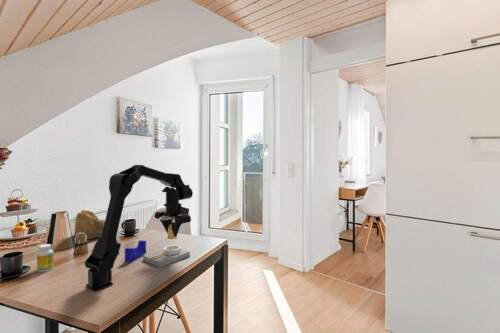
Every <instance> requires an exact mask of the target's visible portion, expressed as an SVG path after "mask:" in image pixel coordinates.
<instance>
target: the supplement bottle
mask: <svg viewBox="0 0 500 333" xmlns="http://www.w3.org/2000/svg"><path fill="white" fill-rule="evenodd" d="M38 250H39V251H37V253H36V264H37V265H36V268H37V271H38V273H39V272H42V273H43V272H48V271H51V270H53V269H54V267H55V266H54V264H55V263H54V260H55V258H54V256H55V255H54V250H53V249H52V244H50V243H47V244H40V245H39V246H38Z"/></svg>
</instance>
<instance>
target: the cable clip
mask: <svg viewBox="0 0 500 333" xmlns="http://www.w3.org/2000/svg"><path fill="white" fill-rule="evenodd" d="M146 254H147V240H141V239H140V240H138V243H137V246H135V247H127V246H126V247H125V248H124V263H133V262H134V261H136V260H137V259H139V258H141V257H143V256H144V255H146Z"/></svg>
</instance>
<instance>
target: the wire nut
mask: <svg viewBox="0 0 500 333" xmlns="http://www.w3.org/2000/svg"><path fill="white" fill-rule="evenodd" d="M177 238H178V235H177V236H176V237H174V234H173V230H172V226H171V225H169V227H168V234H167V239H168V240H176V239H177Z"/></svg>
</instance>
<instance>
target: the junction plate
mask: <svg viewBox="0 0 500 333" xmlns="http://www.w3.org/2000/svg"><path fill="white" fill-rule="evenodd" d="M190 256H191V251H188V250H185V249H183V248H182V246H181V245H178V244H170V245H166V246H164V248H163V249H161V250H158V251H154V252H151V253H148V254H144V255H142V261H143V262H146V263H149V264H151V265H154V266H157V267H159V268H162V267H163V266H167V265H170V264H172V263H175V262H177V261H180V260H183V259H185V258H188V257H190Z"/></svg>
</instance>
